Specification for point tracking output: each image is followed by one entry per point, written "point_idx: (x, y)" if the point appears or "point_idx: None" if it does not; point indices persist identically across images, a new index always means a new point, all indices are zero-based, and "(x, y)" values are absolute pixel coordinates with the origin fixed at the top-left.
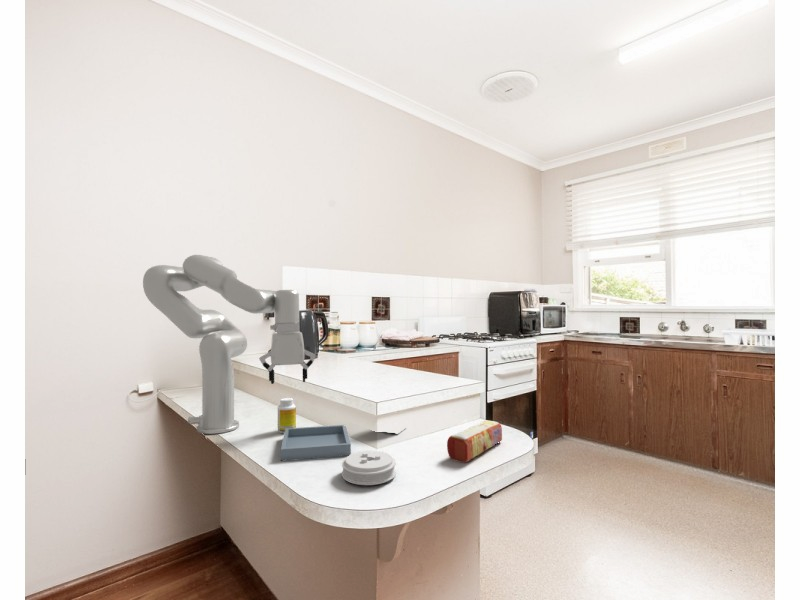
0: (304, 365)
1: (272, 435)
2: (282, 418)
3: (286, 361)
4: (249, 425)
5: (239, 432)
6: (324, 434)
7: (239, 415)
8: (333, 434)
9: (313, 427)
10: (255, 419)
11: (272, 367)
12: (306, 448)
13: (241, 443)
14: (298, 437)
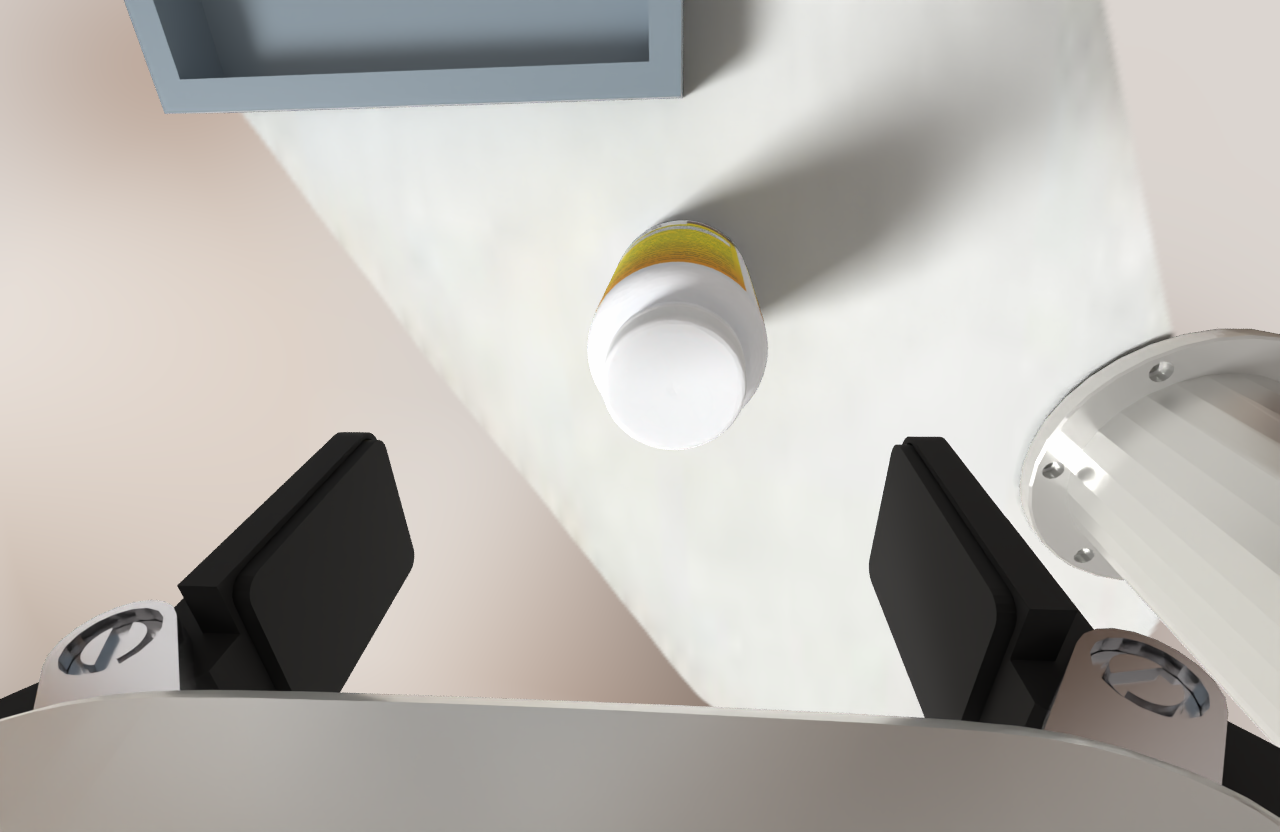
0: (99, 693)
1: (786, 207)
2: (713, 251)
3: (584, 827)
4: None
5: (1029, 336)
6: (362, 68)
7: None
8: (288, 53)
9: (428, 78)
10: None
11: (1093, 723)
12: None
13: (1047, 28)
14: (567, 19)
